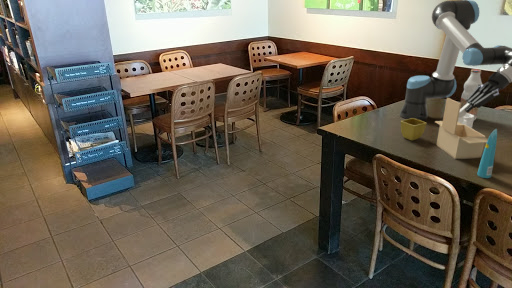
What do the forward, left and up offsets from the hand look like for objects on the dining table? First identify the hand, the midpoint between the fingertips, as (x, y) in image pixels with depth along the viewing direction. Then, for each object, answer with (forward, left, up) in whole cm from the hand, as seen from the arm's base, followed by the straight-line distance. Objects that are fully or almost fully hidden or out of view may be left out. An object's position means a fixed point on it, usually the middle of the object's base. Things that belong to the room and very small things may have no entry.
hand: (458, 115), depth 167 cm
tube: (+12, -21, -18) cm, 30 cm away
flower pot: (-18, +11, -18) cm, 28 cm away
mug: (+5, +27, -18) cm, 32 cm away
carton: (+3, +2, -17) cm, 18 cm away
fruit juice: (+8, +56, -18) cm, 59 cm away
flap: (-3, -2, -7) cm, 8 cm away
